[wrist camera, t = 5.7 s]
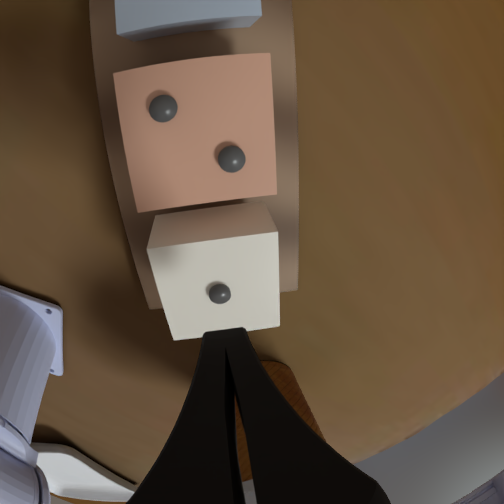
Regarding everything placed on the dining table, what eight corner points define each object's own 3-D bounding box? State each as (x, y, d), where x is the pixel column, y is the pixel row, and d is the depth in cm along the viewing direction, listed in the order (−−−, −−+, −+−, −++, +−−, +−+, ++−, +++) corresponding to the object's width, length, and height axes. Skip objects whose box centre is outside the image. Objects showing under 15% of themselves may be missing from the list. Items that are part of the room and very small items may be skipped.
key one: (268, 287, 17) (280, 329, 15) (175, 299, 17) (173, 343, 14) (263, 201, 15) (279, 234, 12) (155, 215, 14) (146, 252, 12)
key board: (293, 279, 20) (307, 313, 17) (151, 299, 19) (146, 335, 17) (278, -76, 9) (295, -102, 6) (94, -54, 8) (74, -75, 6)
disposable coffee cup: (186, 359, 23) (194, 515, 13) (312, 334, 23) (367, 481, 13) (213, 417, 28) (228, 532, 18) (311, 398, 28) (346, 509, 18)
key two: (262, 169, 14) (278, 196, 11) (149, 184, 13) (136, 215, 11) (255, 57, 11) (271, 52, 9) (132, 73, 11) (111, 73, 8)
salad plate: (153, 485, 40) (154, 503, 37) (59, 482, 40) (58, 497, 37) (70, 430, 28) (66, 454, 25) (-23, 427, 28) (-28, 445, 25)
